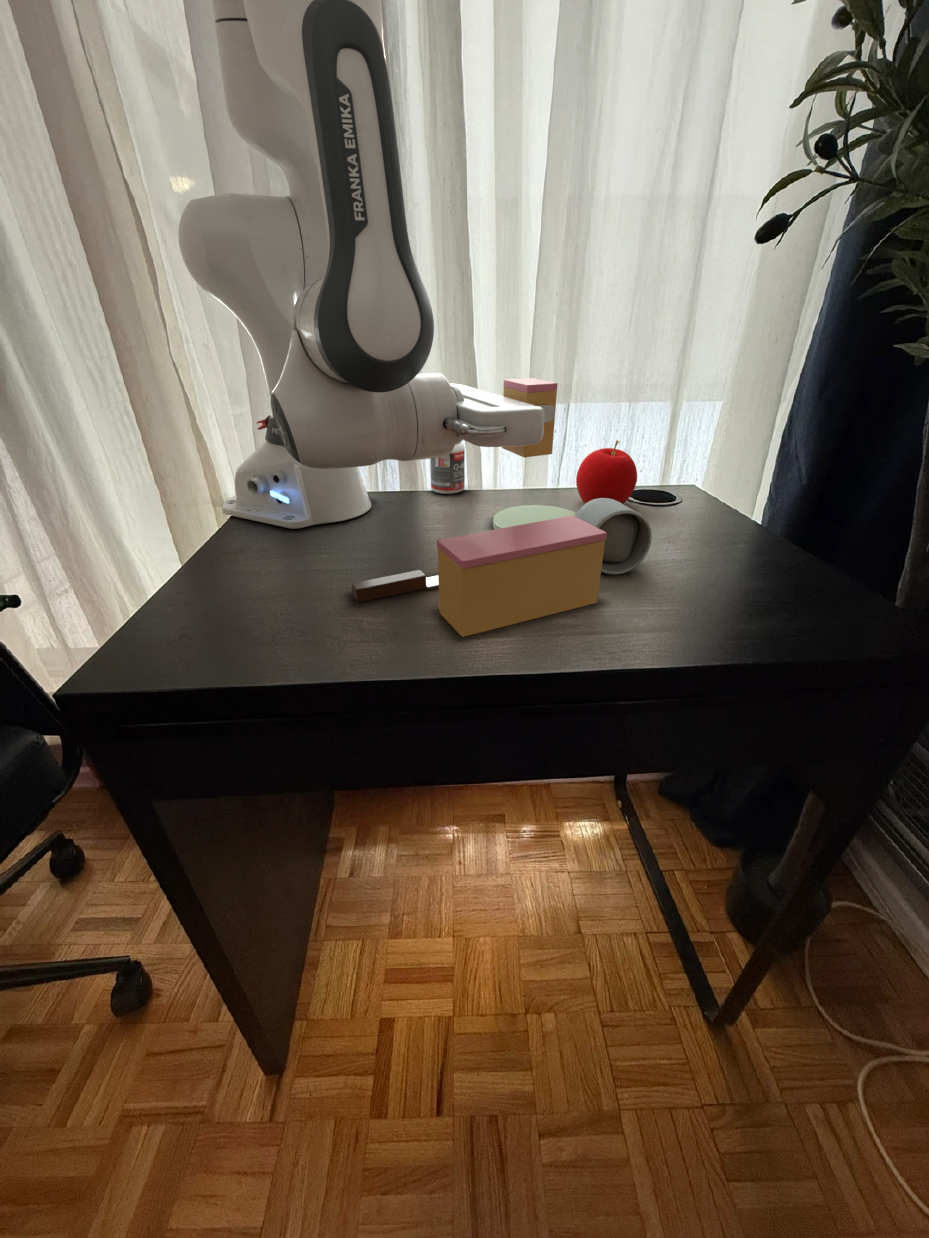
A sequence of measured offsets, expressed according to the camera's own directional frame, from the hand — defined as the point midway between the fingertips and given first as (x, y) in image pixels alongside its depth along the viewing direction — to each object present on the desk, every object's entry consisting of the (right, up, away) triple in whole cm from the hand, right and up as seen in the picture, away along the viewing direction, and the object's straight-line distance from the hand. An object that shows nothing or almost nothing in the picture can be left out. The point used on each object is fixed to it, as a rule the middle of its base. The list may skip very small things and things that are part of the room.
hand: (534, 407), depth 68 cm
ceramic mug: (+8, -19, +2) cm, 20 cm away
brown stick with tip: (-11, -21, -3) cm, 24 cm away
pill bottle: (-11, -3, +29) cm, 31 cm away
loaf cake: (-3, -24, -8) cm, 26 cm away
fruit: (+13, -8, +21) cm, 26 cm away
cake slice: (-1, -5, +2) cm, 5 cm away
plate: (+2, -12, +13) cm, 18 cm away
